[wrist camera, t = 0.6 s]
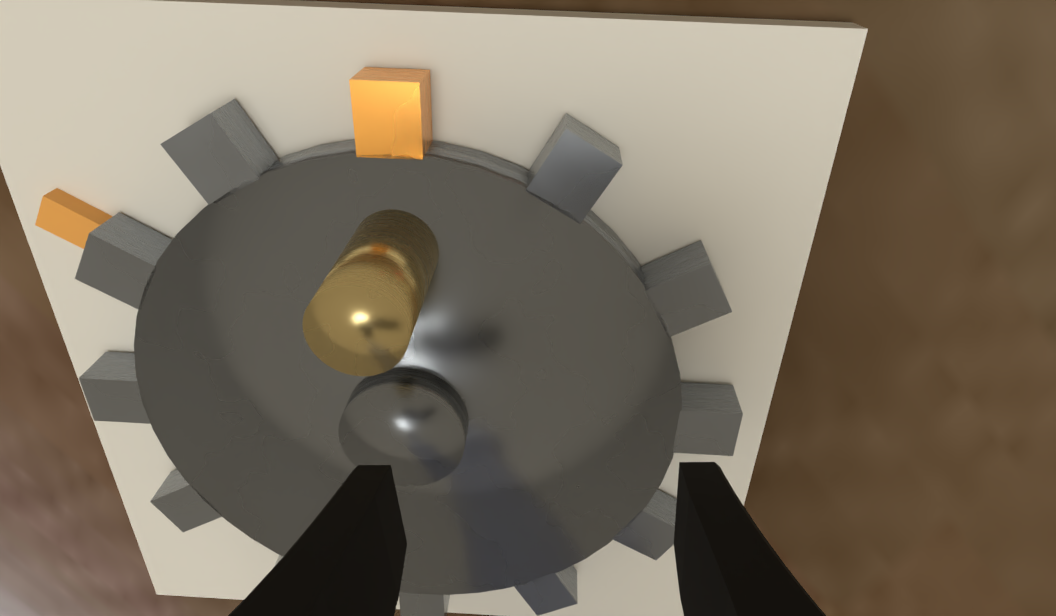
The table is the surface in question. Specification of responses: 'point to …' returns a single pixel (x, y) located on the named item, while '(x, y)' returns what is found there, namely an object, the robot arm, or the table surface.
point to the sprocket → (411, 346)
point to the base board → (457, 118)
